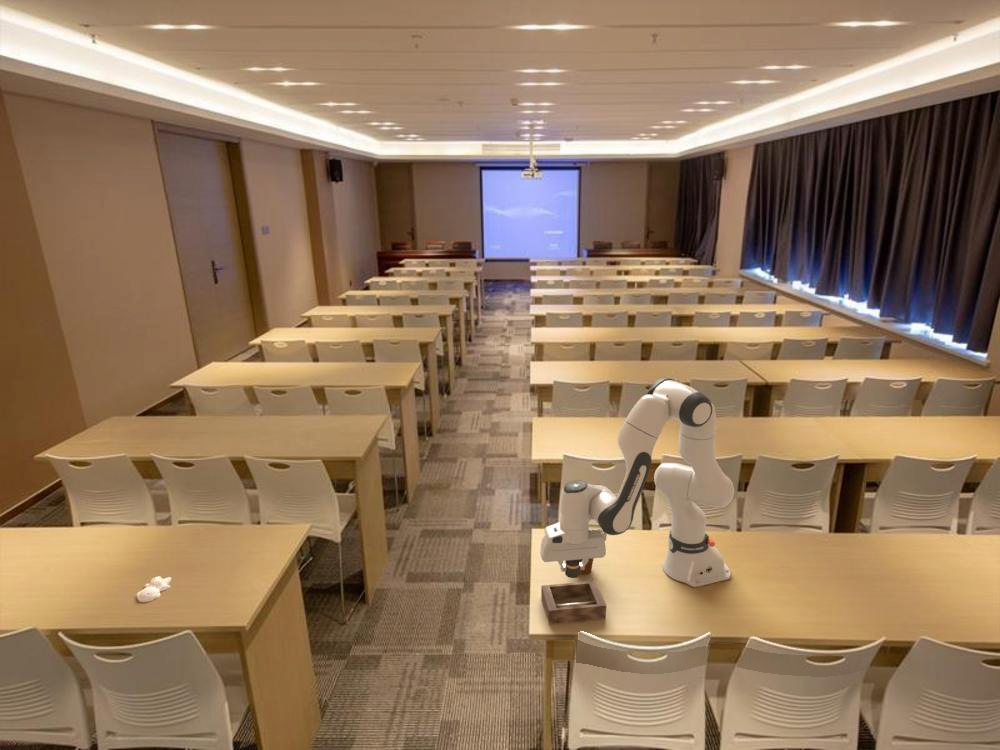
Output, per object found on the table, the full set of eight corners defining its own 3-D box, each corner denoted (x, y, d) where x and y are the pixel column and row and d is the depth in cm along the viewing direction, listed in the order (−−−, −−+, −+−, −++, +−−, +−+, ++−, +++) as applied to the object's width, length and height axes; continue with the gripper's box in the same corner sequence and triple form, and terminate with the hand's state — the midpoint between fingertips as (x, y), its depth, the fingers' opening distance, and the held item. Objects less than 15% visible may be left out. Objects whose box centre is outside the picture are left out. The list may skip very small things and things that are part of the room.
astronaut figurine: (178, 581, 207) (177, 574, 207) (152, 604, 196) (150, 596, 195) (156, 578, 209) (155, 570, 208) (129, 600, 198) (127, 593, 197)
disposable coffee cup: (595, 579, 206) (596, 549, 202) (567, 576, 208) (568, 546, 204) (596, 563, 215) (598, 533, 211) (569, 560, 217) (570, 530, 213)
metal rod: (597, 602, 191) (597, 600, 190) (598, 604, 190) (598, 602, 190) (550, 607, 189) (551, 604, 189) (551, 609, 188) (551, 606, 188)
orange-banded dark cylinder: (580, 577, 189) (581, 563, 187) (566, 578, 188) (567, 564, 187) (577, 568, 193) (577, 555, 192) (563, 569, 193) (564, 556, 191)
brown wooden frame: (595, 593, 199) (595, 580, 198) (605, 618, 188) (606, 605, 187) (541, 598, 197) (541, 585, 196) (548, 624, 186) (548, 610, 184)
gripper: (603, 523, 190) (601, 561, 194) (539, 528, 188) (538, 566, 192) (609, 534, 184) (607, 573, 188) (543, 539, 182) (542, 578, 186)
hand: (572, 569), depth 190 cm, fingers closed on orange-banded dark cylinder, 4 cm apart
